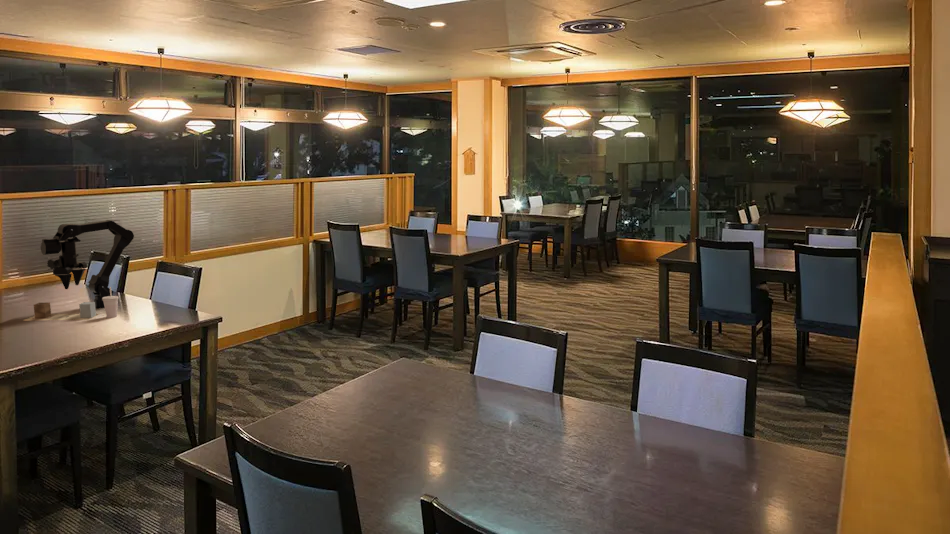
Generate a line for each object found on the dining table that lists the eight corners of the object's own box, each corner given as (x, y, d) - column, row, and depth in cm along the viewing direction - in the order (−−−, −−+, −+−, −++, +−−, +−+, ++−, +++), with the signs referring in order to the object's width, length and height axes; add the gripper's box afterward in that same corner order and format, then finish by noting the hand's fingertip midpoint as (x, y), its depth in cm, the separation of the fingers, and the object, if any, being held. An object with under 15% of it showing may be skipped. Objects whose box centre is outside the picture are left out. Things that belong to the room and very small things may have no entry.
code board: (100, 315, 317) (100, 313, 317) (87, 322, 306) (87, 319, 305) (37, 316, 316) (37, 314, 316) (22, 322, 304) (22, 320, 304)
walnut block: (51, 316, 312) (50, 302, 312) (45, 318, 308) (44, 304, 307) (40, 316, 312) (39, 302, 311) (34, 318, 308) (33, 304, 307)
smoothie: (123, 317, 314) (120, 286, 312) (114, 321, 308) (112, 289, 306) (109, 317, 315) (107, 285, 312) (100, 320, 308) (97, 288, 306)
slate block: (96, 315, 314) (94, 302, 313) (91, 317, 309) (90, 304, 308) (85, 315, 313) (84, 302, 312) (80, 317, 309) (79, 304, 308)
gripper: (60, 249, 326) (63, 283, 329) (38, 255, 308) (42, 291, 310) (86, 249, 327) (88, 283, 329) (65, 255, 308) (68, 291, 311)
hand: (71, 287), depth 320 cm, fingers open, 9 cm apart
